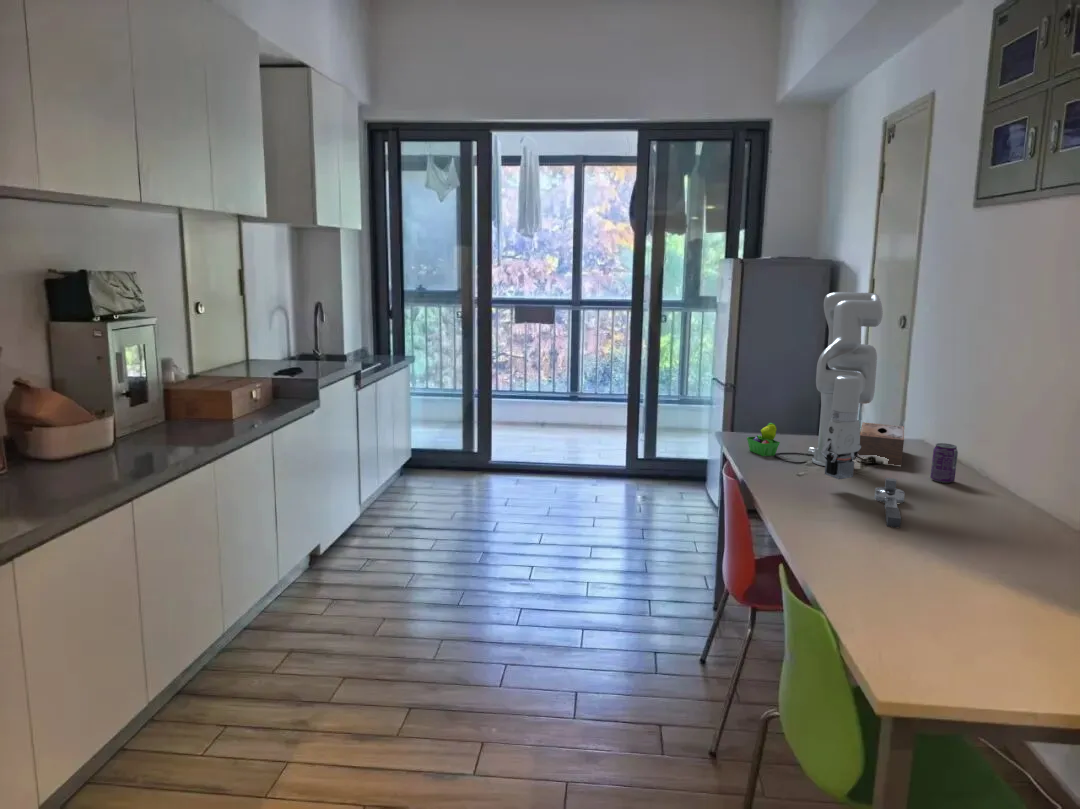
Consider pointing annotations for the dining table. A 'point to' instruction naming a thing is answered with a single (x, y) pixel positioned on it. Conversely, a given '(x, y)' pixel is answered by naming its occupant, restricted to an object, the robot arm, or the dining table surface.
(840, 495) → the dining table surface
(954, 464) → the beverage can
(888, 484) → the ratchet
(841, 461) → the grey domed block
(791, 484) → the dining table surface
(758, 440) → the fruit basket
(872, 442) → the tissue box cover
